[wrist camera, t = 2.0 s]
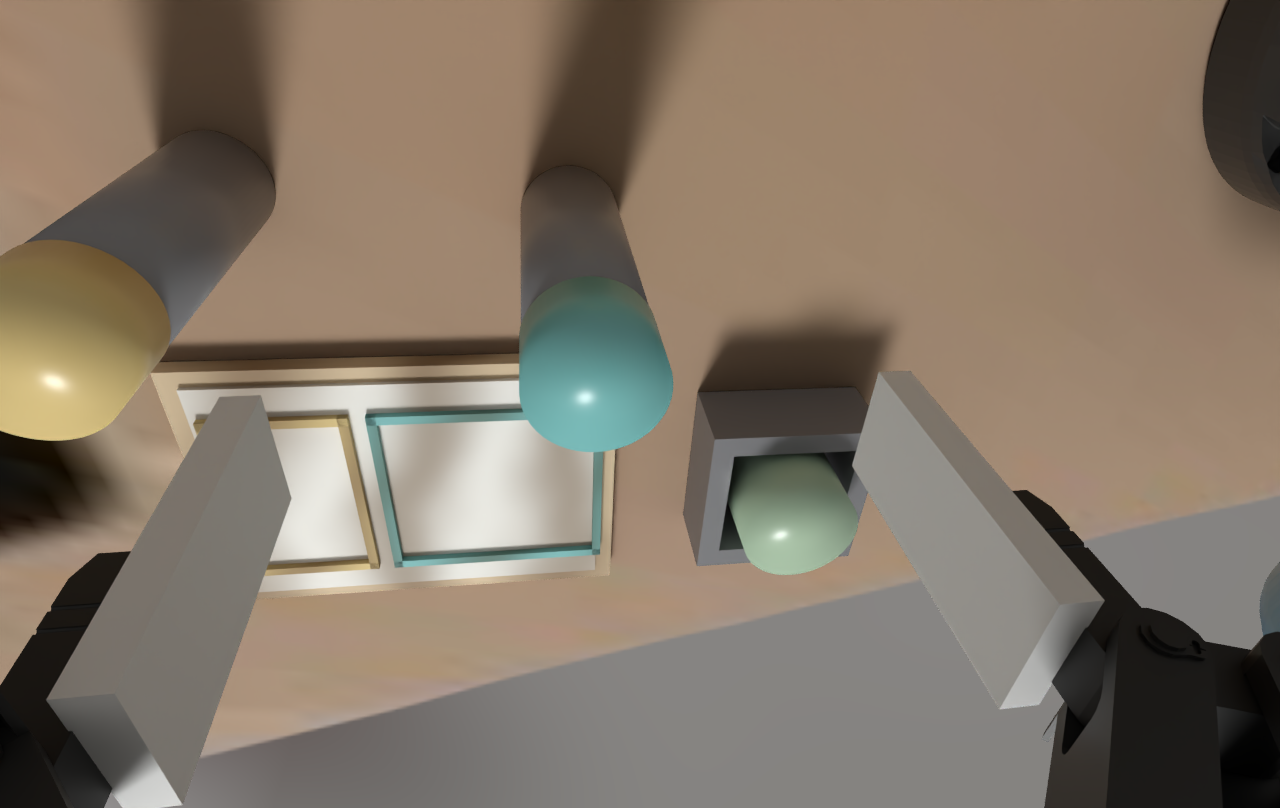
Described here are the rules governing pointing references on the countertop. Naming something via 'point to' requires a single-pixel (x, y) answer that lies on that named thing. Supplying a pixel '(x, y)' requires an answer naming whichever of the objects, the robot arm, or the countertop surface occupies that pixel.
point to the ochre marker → (121, 282)
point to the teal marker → (585, 319)
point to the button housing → (763, 453)
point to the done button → (790, 511)
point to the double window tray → (408, 472)
